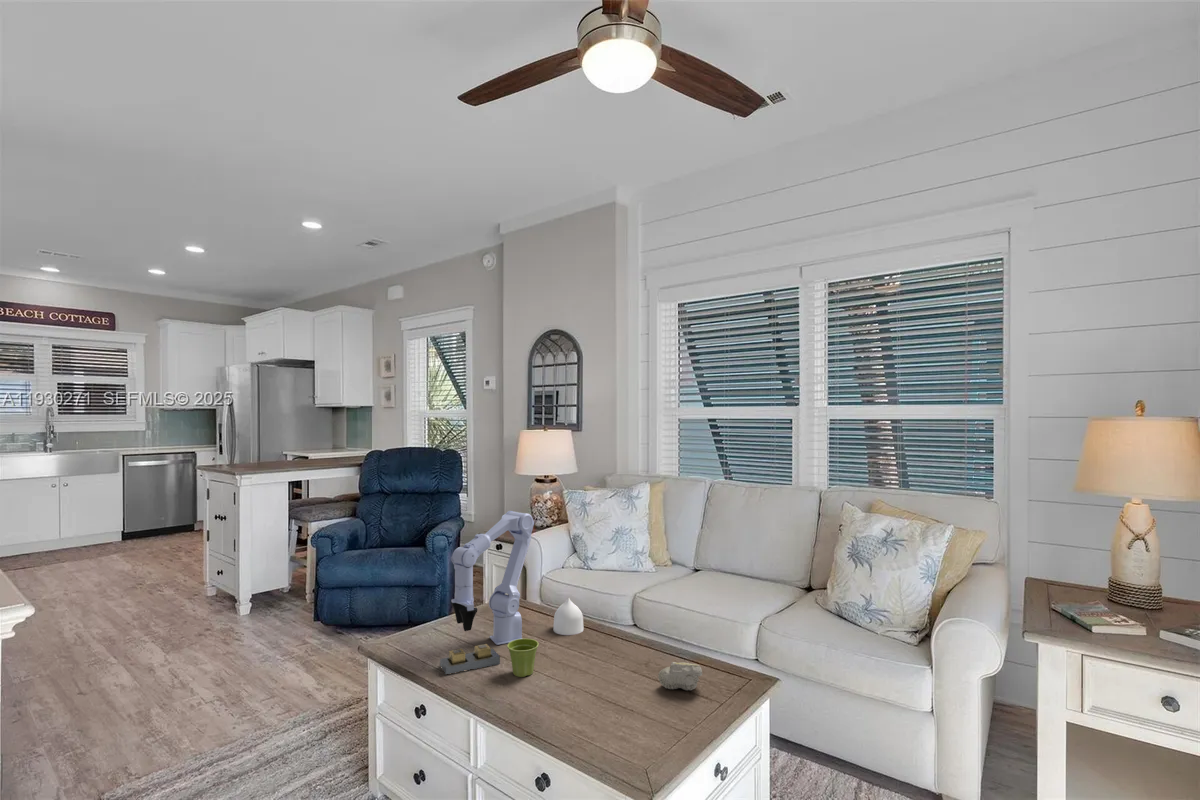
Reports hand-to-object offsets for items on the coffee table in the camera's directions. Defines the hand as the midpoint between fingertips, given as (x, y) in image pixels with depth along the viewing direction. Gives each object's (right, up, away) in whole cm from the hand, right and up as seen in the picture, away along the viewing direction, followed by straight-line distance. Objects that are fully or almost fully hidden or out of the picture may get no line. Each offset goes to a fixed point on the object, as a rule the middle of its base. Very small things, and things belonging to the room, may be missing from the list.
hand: (464, 626), depth 196 cm
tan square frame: (+7, -9, -6) cm, 13 cm away
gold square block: (0, -9, -10) cm, 14 cm away
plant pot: (+21, -9, -13) cm, 27 cm away
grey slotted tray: (+4, -9, -8) cm, 13 cm away
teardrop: (+33, -10, +23) cm, 41 cm away
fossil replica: (+67, -9, -23) cm, 72 cm away
